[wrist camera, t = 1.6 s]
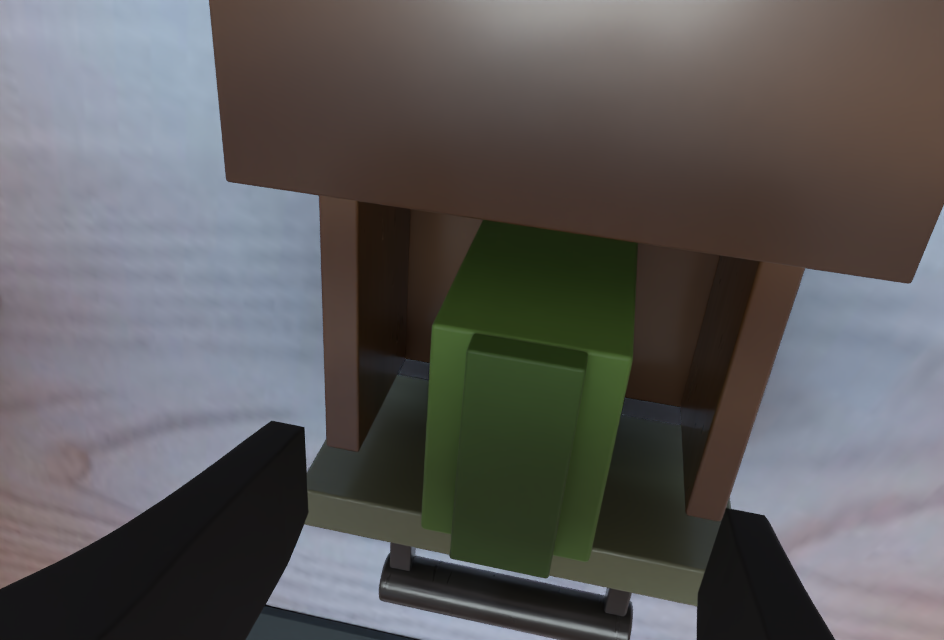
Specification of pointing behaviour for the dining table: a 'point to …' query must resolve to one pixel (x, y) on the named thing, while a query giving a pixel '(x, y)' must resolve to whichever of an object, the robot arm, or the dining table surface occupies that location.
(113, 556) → the robot arm
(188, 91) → the dining table surface
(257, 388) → the dining table surface
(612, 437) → the green stepped block
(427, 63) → the cabinet
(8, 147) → the dining table surface
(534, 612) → the drawer
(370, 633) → the mat
